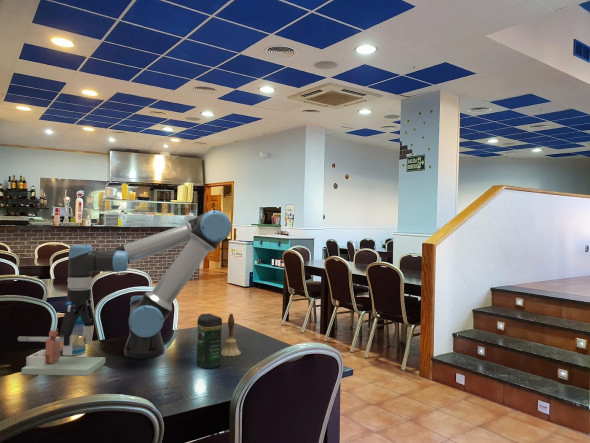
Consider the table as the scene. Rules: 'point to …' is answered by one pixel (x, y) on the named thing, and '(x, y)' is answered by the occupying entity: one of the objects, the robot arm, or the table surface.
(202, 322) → the coffee jar
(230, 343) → the hand bell
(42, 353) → the ball
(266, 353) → the table surface
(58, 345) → the player rod
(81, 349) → the beverage bottle
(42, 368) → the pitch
